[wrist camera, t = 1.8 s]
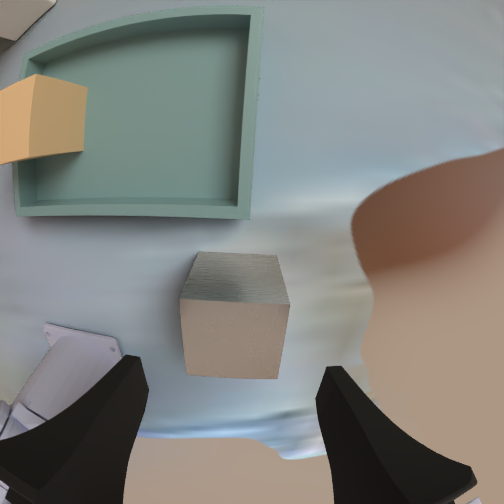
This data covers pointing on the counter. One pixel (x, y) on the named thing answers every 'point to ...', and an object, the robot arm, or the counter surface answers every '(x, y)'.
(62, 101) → the tan box
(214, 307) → the concrete cube
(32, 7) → the jar
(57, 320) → the counter surface
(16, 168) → the tote
